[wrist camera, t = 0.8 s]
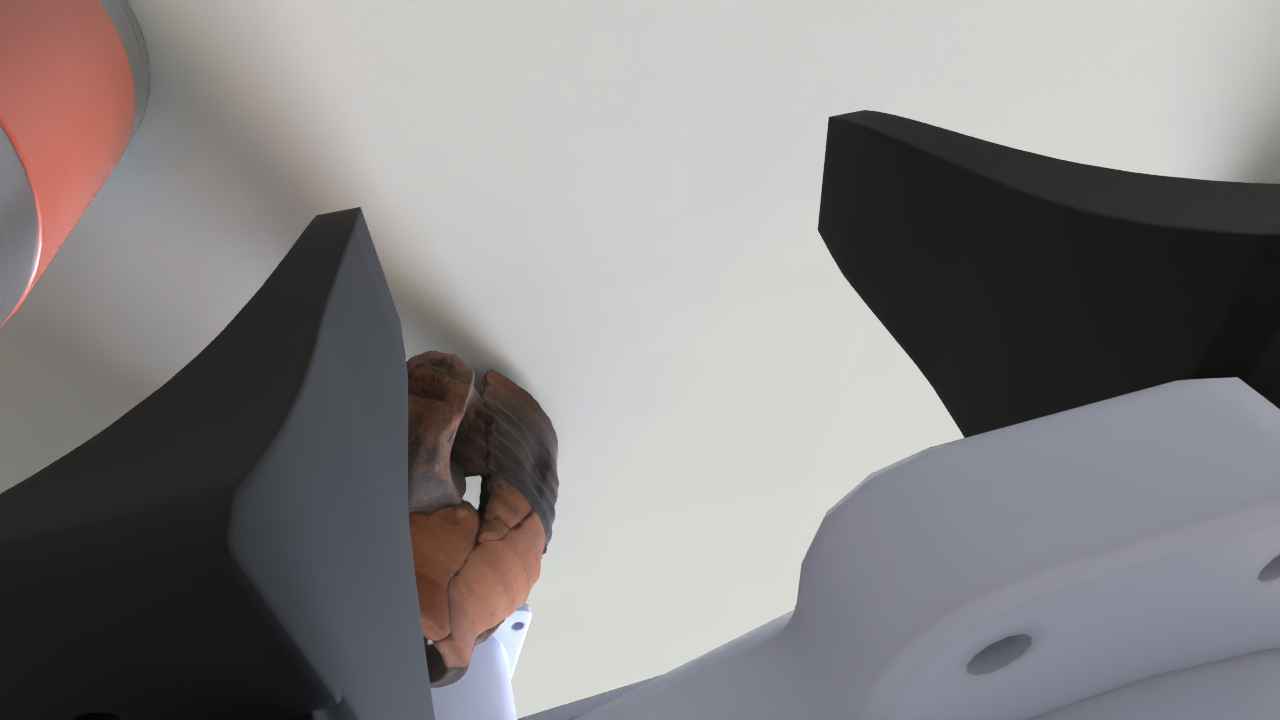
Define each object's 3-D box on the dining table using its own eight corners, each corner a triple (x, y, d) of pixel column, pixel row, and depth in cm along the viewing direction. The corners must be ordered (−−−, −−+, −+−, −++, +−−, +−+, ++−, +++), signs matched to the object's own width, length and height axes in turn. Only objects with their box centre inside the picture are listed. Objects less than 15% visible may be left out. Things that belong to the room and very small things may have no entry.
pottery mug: (567, 518, 31) (498, 731, 25) (340, 454, 31) (221, 651, 25) (609, 302, 22) (517, 556, 16) (291, 215, 22) (94, 436, 17)
